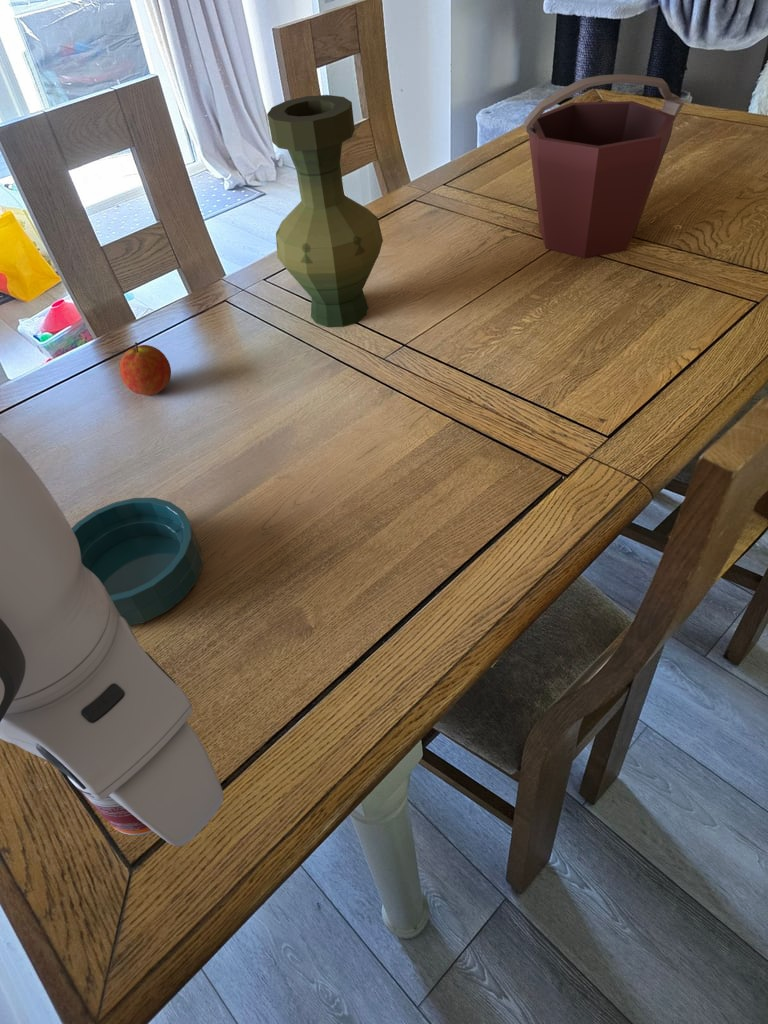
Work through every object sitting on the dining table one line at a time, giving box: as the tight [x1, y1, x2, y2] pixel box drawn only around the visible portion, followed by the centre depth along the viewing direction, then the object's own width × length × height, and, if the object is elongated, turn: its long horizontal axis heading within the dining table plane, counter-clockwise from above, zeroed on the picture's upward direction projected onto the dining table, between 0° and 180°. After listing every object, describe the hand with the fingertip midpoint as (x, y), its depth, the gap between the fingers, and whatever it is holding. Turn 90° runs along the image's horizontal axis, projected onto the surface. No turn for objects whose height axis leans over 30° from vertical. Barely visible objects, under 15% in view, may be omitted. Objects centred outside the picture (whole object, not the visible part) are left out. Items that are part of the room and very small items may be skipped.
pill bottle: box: [67, 776, 154, 836], centre depth 48 cm, size 6×6×11 cm
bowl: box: [71, 497, 203, 627], centre depth 75 cm, size 15×15×5 cm
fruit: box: [119, 342, 172, 397], centre depth 99 cm, size 7×7×8 cm
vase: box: [266, 94, 384, 328], centre depth 103 cm, size 16×16×30 cm
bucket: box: [523, 73, 685, 259], centre depth 115 cm, size 24×22×25 cm
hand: (130, 770), depth 49 cm, fingers closed on pill bottle, 6 cm apart
